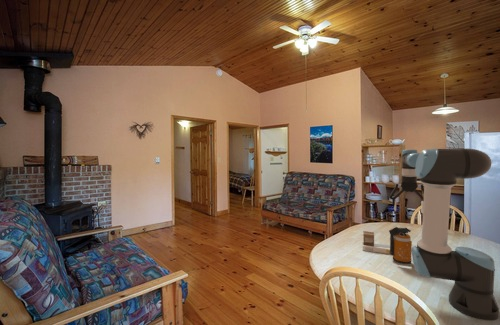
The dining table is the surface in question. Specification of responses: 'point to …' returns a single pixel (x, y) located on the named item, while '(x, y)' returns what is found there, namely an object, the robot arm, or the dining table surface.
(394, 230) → the canister
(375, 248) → the shelf board
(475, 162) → the robot arm
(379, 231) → the dining table surface
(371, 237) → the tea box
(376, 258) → the dining table surface
